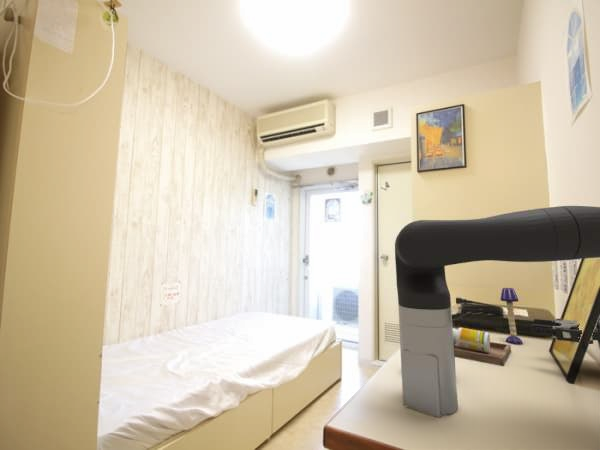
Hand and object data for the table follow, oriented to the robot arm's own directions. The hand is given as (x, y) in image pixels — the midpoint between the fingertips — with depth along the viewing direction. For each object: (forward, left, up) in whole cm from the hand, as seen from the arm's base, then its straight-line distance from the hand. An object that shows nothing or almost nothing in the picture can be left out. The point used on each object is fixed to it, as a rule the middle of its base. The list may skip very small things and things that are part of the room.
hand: (532, 325), depth 74 cm
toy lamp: (+19, +7, -9) cm, 22 cm away
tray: (0, +13, -9) cm, 16 cm away
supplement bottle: (0, +10, -6) cm, 11 cm away
